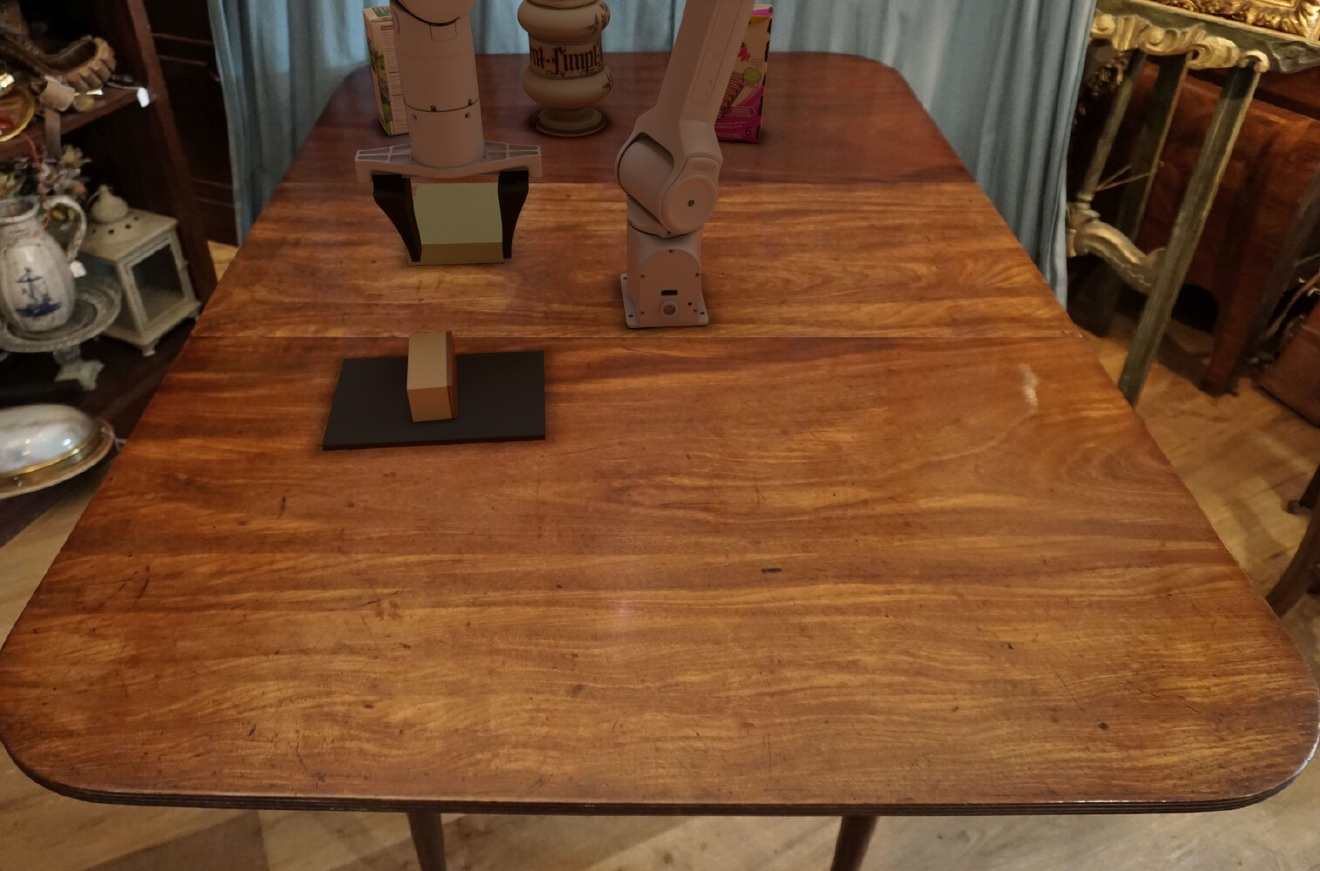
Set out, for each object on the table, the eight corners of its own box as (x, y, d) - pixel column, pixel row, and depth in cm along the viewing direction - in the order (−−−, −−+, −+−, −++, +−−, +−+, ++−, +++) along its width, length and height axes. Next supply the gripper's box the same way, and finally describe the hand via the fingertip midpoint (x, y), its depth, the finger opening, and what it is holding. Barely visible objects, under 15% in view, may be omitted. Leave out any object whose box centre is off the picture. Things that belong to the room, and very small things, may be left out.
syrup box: (378, 120, 126) (358, 7, 117) (421, 114, 128) (405, 2, 119) (387, 136, 123) (368, 21, 113) (432, 130, 125) (416, 15, 115)
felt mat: (545, 438, 78) (544, 434, 77) (322, 450, 76) (321, 445, 76) (543, 354, 87) (543, 350, 86) (344, 362, 85) (343, 358, 85)
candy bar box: (676, 139, 124) (681, 9, 113) (679, 124, 128) (684, -3, 117) (760, 144, 124) (773, 14, 113) (761, 129, 127) (773, 2, 117)
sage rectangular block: (504, 262, 99) (502, 241, 97) (408, 265, 98) (404, 244, 96) (507, 201, 110) (505, 181, 108) (420, 203, 109) (417, 183, 107)
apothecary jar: (514, 112, 130) (502, -28, 118) (595, 100, 134) (592, -36, 122) (540, 146, 122) (531, -1, 110) (626, 133, 125) (626, -11, 114)
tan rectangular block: (457, 418, 79) (453, 385, 76) (413, 422, 78) (406, 389, 76) (456, 362, 84) (452, 330, 82) (414, 366, 84) (409, 333, 82)
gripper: (536, 76, 75) (546, 228, 84) (351, 80, 74) (381, 234, 83) (537, 110, 70) (547, 269, 79) (338, 115, 69) (372, 276, 77)
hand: (462, 254), depth 80 cm, fingers open, 7 cm apart
